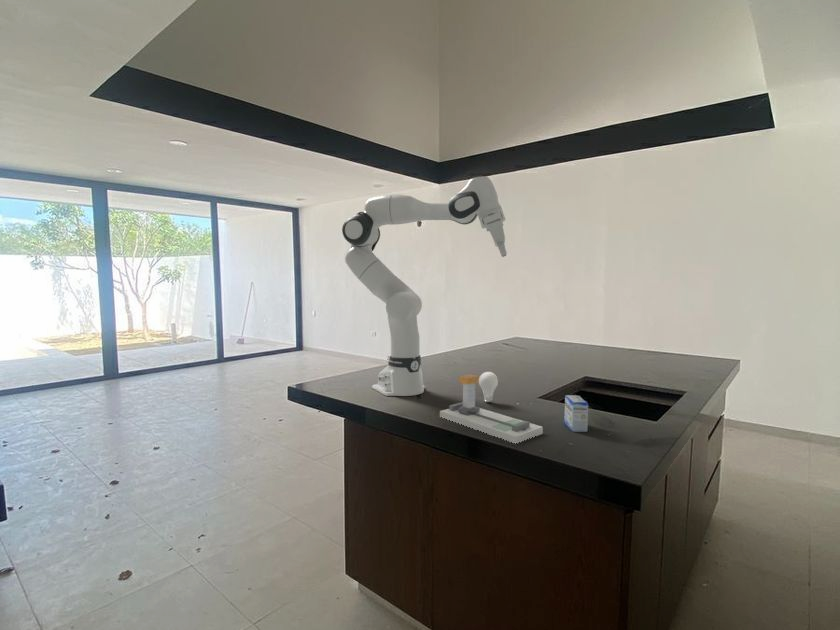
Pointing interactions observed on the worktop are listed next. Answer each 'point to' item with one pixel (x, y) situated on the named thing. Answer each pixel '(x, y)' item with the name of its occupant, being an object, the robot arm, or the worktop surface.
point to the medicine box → (576, 413)
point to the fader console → (493, 424)
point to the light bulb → (488, 385)
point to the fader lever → (469, 394)
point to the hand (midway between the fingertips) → (504, 255)
